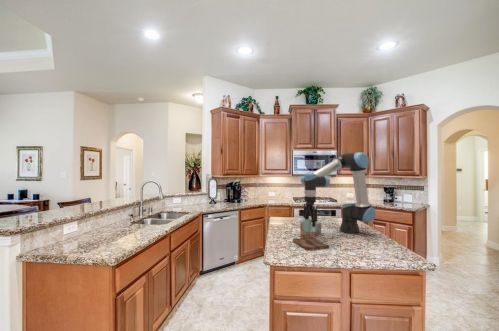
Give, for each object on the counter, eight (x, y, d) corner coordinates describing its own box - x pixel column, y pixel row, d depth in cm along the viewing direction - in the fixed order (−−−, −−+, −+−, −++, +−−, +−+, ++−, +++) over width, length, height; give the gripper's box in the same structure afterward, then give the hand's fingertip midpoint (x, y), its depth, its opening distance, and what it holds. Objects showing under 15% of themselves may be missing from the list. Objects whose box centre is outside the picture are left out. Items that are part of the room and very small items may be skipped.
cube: (311, 229, 177) (311, 219, 177) (317, 231, 171) (317, 221, 171) (302, 229, 175) (302, 219, 175) (307, 232, 168) (308, 221, 169)
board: (312, 240, 185) (312, 237, 185) (329, 248, 166) (329, 245, 166) (292, 241, 180) (292, 239, 180) (307, 250, 161) (307, 247, 161)
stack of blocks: (314, 232, 207) (314, 217, 207) (321, 233, 202) (321, 218, 203) (300, 237, 191) (300, 221, 191) (307, 239, 187) (307, 222, 187)
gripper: (298, 194, 182) (298, 227, 181) (313, 197, 163) (312, 234, 162) (307, 194, 184) (307, 226, 184) (323, 197, 165) (323, 233, 164)
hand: (310, 230), depth 173 cm, fingers closed on cube, 7 cm apart
